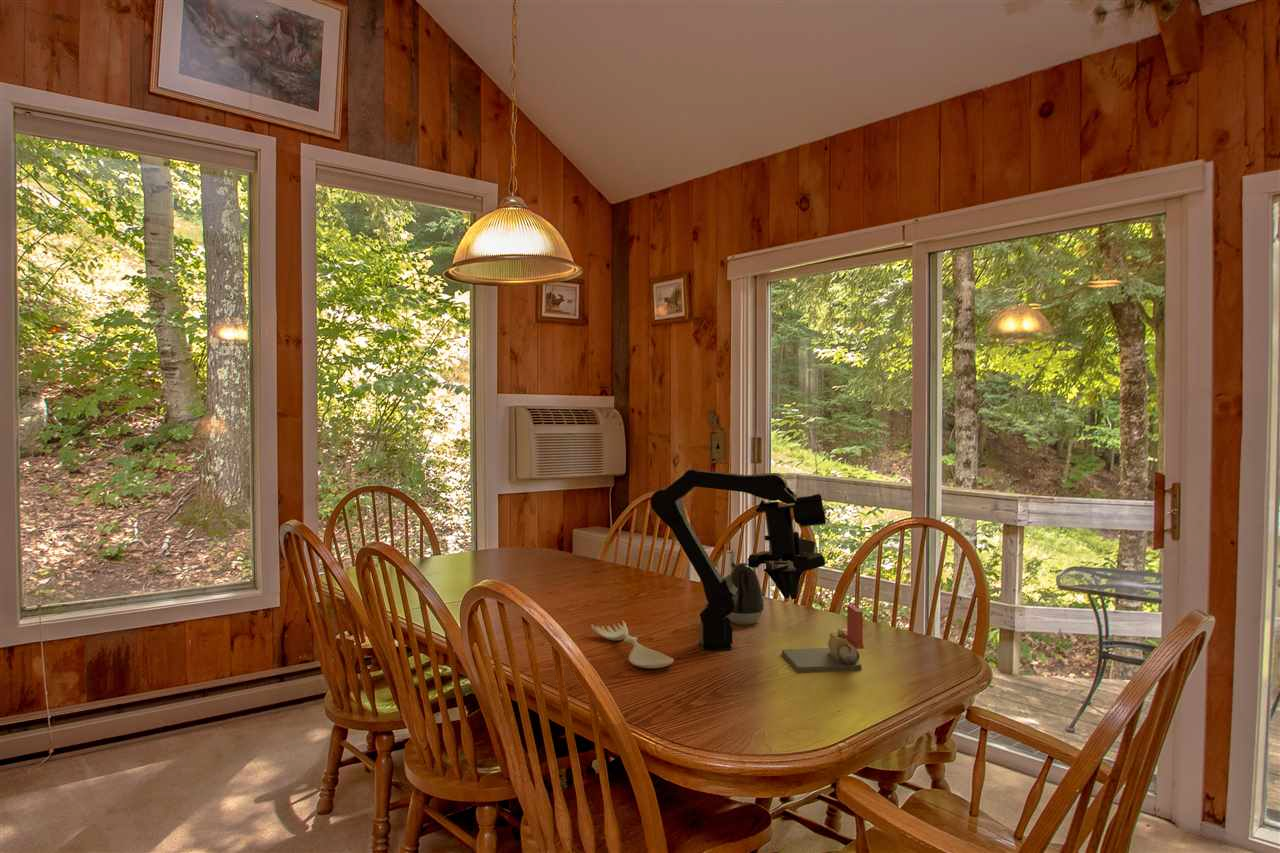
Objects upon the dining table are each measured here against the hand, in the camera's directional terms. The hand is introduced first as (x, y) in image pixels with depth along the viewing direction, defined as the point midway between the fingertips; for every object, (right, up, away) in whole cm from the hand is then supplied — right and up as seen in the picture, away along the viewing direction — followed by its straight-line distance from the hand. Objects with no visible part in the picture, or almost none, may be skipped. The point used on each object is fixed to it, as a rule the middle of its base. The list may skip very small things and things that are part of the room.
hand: (790, 598), depth 174 cm
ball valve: (+10, -11, -8) cm, 17 cm away
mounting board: (+5, -12, -7) cm, 15 cm away
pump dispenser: (-7, -12, +25) cm, 28 cm away
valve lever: (+10, -6, -12) cm, 17 cm away
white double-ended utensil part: (-35, -13, +1) cm, 38 cm away
